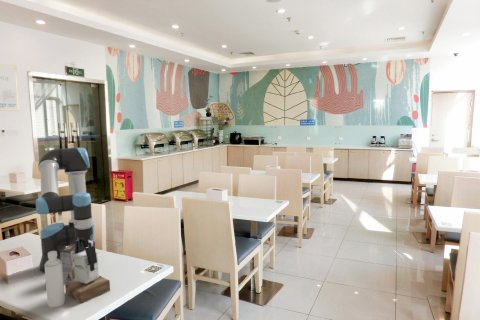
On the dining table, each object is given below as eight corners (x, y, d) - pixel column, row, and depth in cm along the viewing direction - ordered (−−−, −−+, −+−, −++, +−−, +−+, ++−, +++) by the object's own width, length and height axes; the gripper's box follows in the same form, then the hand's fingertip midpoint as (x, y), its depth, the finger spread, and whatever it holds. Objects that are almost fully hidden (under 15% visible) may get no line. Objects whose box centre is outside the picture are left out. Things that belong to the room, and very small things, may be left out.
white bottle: (44, 306, 149) (39, 250, 146) (56, 298, 155) (52, 245, 152) (56, 308, 146) (51, 252, 143) (68, 300, 153) (64, 246, 150)
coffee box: (73, 273, 180) (71, 244, 178) (84, 274, 179) (82, 244, 177) (61, 281, 171) (59, 250, 169) (73, 282, 170) (70, 251, 168)
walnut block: (65, 293, 159) (65, 283, 158) (94, 282, 170) (93, 272, 169) (81, 303, 150) (80, 292, 150) (110, 290, 161) (109, 280, 161)
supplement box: (74, 280, 158) (73, 254, 156) (88, 274, 164) (86, 249, 163) (85, 284, 154) (83, 257, 153) (99, 277, 161) (97, 251, 159)
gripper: (64, 225, 160) (68, 271, 163) (87, 233, 147) (90, 284, 150) (80, 221, 166) (83, 266, 168) (103, 229, 153) (106, 277, 156)
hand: (86, 274), depth 159 cm, fingers closed on supplement box, 8 cm apart
